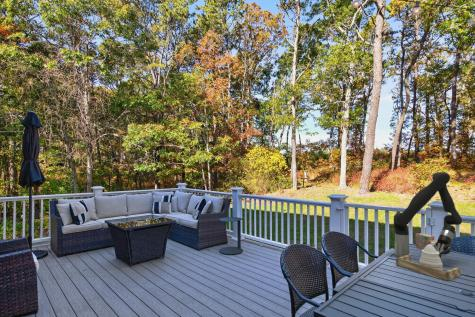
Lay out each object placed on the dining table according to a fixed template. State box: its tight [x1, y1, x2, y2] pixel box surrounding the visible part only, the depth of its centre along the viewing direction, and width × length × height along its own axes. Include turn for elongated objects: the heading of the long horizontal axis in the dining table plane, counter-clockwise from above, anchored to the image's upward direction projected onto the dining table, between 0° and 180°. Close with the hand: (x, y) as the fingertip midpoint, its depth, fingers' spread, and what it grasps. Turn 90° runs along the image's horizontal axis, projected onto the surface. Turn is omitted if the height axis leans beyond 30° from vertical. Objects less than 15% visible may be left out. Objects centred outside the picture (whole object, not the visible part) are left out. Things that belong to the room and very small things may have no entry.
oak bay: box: [395, 254, 461, 282], centre depth 181 cm, size 16×31×5 cm, turn 29°
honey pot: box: [418, 242, 444, 271], centre depth 183 cm, size 13×13×18 cm
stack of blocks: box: [415, 232, 437, 251], centre depth 224 cm, size 21×6×12 cm, turn 13°
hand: (437, 257), depth 188 cm, fingers closed
